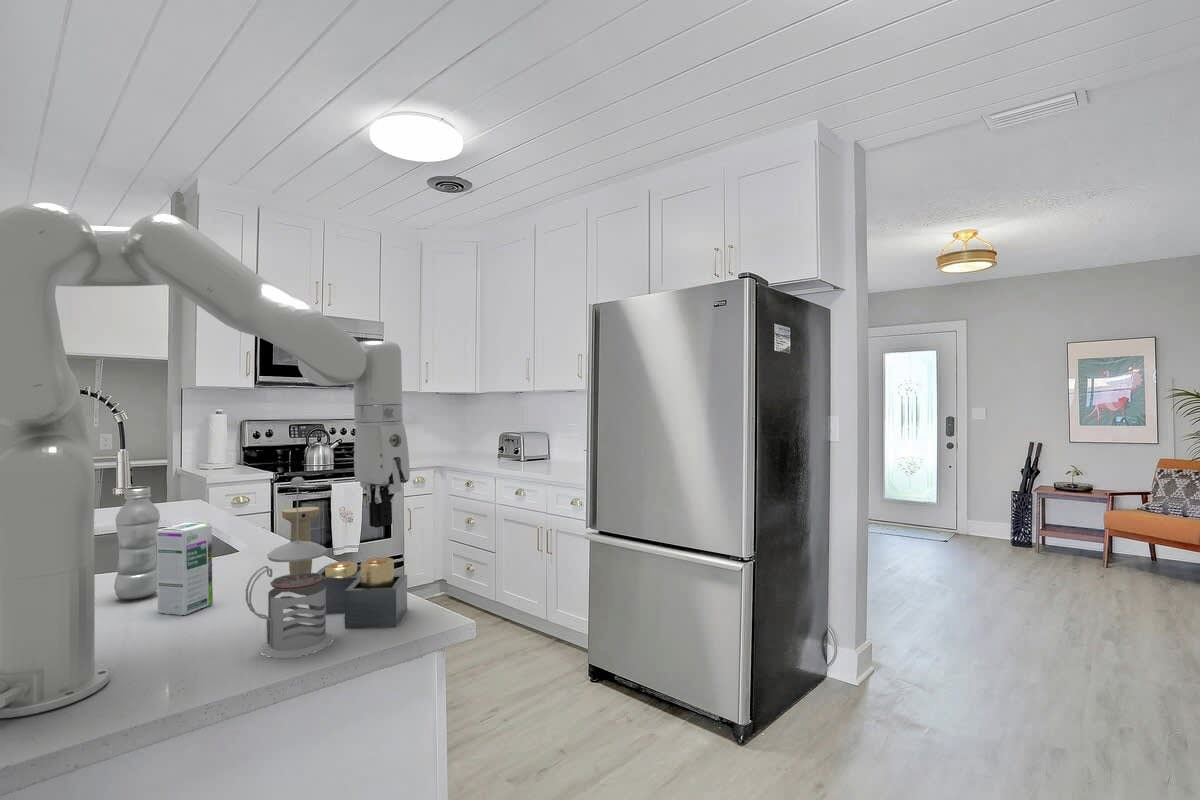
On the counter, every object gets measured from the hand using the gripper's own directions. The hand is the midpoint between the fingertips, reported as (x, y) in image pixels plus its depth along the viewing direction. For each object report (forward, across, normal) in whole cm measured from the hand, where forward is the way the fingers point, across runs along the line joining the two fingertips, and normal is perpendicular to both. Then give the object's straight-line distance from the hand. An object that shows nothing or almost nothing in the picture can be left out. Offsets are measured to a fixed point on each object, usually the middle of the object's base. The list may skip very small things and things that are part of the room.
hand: (381, 525), depth 102 cm
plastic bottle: (+15, +43, +24) cm, 51 cm away
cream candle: (+14, +11, +2) cm, 18 cm away
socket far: (+15, +11, +2) cm, 19 cm away
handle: (+15, +26, +2) cm, 31 cm away
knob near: (+11, 0, +1) cm, 11 cm away
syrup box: (+15, +29, +20) cm, 38 cm away
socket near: (+15, 0, +1) cm, 15 cm away
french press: (+15, 0, +15) cm, 22 cm away
